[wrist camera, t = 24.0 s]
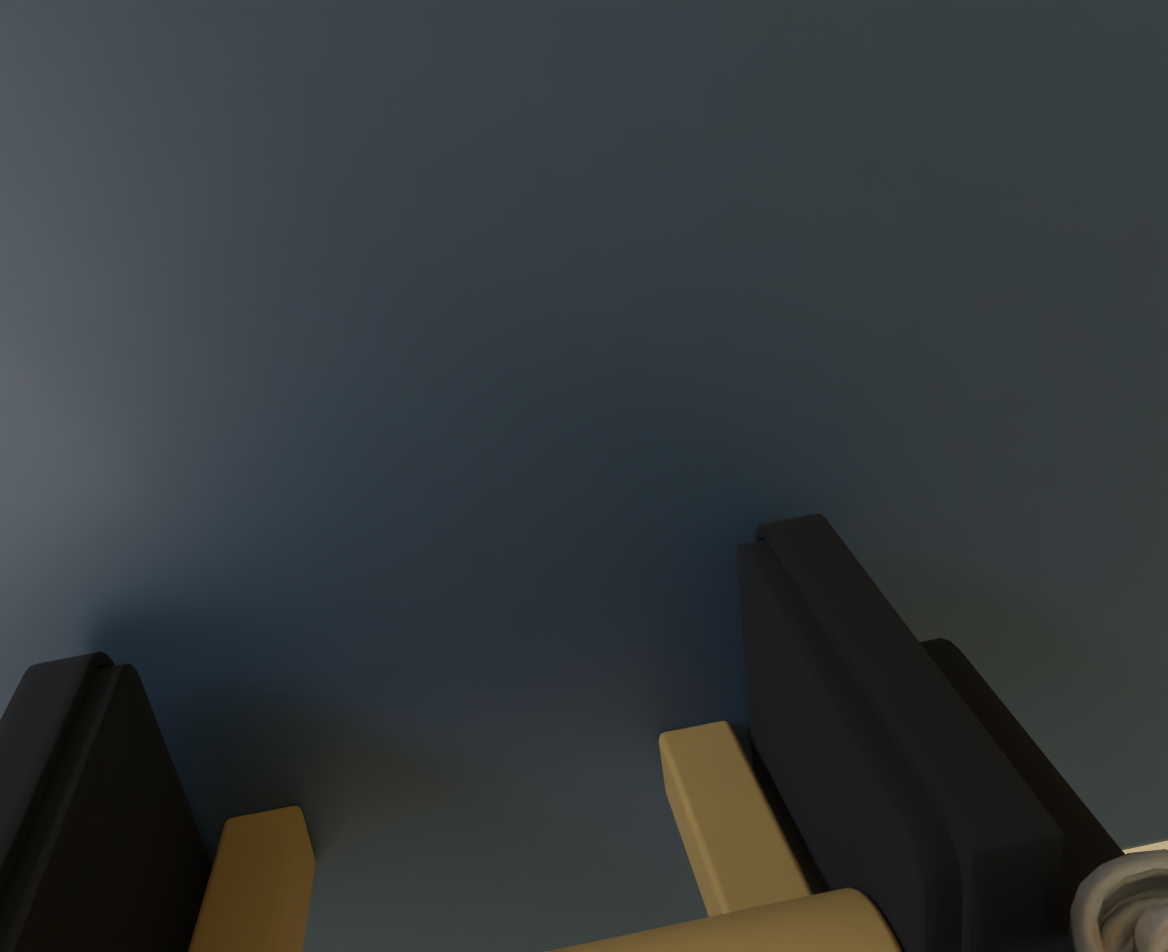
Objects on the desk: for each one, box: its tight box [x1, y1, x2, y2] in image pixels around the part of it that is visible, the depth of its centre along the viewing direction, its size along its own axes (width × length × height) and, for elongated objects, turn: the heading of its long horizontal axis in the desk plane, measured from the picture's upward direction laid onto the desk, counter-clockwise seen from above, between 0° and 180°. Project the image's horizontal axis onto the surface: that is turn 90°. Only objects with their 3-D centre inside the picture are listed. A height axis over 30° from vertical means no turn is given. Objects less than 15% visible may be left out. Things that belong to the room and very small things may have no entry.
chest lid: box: [0, 0, 1168, 952], centre depth 7 cm, size 16×14×5 cm
